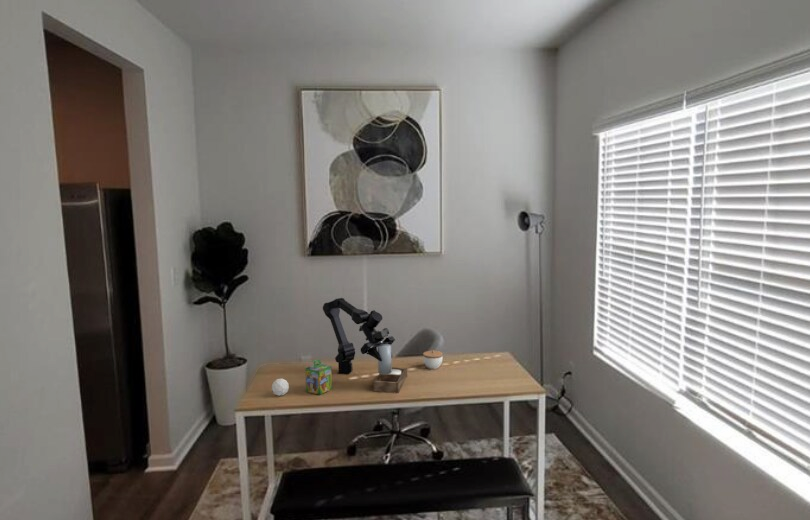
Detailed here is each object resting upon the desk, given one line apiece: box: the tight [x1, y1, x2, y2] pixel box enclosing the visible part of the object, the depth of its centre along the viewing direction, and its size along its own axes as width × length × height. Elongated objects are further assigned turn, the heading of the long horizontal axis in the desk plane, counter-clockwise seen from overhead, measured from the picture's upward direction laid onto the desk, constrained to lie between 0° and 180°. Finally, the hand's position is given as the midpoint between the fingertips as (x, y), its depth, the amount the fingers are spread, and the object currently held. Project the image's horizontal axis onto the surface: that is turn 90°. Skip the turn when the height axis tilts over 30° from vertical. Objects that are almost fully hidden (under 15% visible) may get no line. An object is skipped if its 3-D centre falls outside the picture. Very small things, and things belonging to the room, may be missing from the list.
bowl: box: [389, 369, 401, 375], centre depth 240 cm, size 8×8×3 cm
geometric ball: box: [271, 378, 290, 397], centre depth 222 cm, size 8×8×8 cm
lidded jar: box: [422, 349, 444, 370], centre depth 258 cm, size 11×11×9 cm
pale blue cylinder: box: [377, 344, 393, 374], centre depth 230 cm, size 6×6×13 cm
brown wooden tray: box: [373, 366, 408, 394], centre depth 234 cm, size 12×22×5 cm, turn 169°
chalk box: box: [305, 358, 333, 396], centre depth 226 cm, size 9×9×15 cm
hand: (386, 359), depth 229 cm, fingers closed on pale blue cylinder, 6 cm apart
